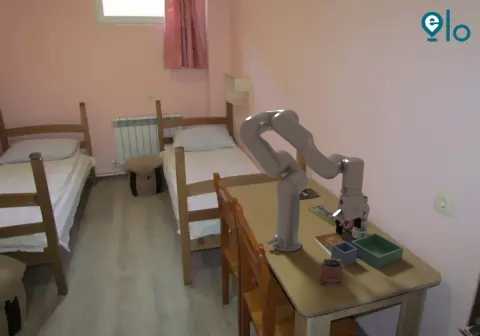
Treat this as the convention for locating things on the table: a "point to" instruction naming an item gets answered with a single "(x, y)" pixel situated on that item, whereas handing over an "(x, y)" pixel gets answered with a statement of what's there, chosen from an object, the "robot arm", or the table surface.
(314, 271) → the table surface
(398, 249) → the big crate
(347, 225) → the soda can
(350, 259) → the small crate
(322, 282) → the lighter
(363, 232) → the plastic bottle
